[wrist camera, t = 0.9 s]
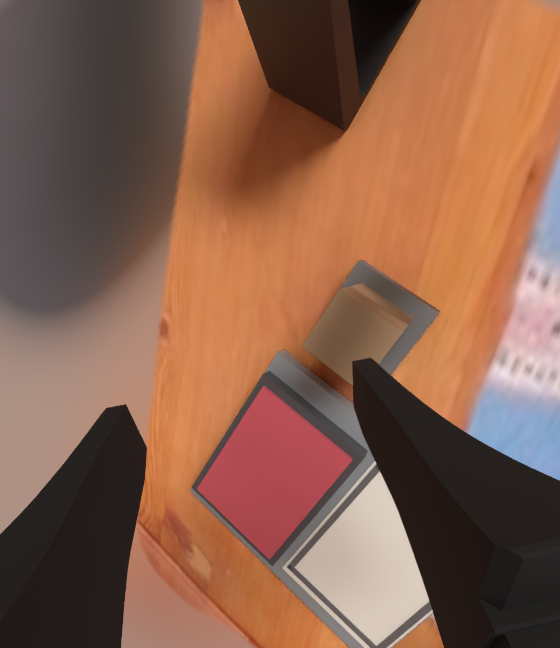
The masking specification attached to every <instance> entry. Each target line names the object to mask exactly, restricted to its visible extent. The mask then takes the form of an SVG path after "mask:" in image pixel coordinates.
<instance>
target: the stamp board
mask: <svg viewBox="0 0 560 648" xmlns="http://www.w3.org/2000/svg"><path fill="white" fill-rule="evenodd" d="M190 492H191V493H192V494H193V495H194V496H195V497H196V498H197V499H198V500H199V501H200V502H201V503H203V504H204V505H205V506H206V507H207V508H208V509H209V510H210V511H211V512H212V513H213V514H214V515H215V516H216V517H217V518H218V519H219V520H220V521H221V522H222V523H223V524H224V525H225V526H226V527H227V528H228V529H229V530H230V531H231V532H232V533H233V534H234V535H235V536H236V537H237V538H238V539H239V540H240V541H241V542H242V543H243V544H244V545H245V546H246V547H247V548H248V549H249V550H250V551H251V552H252V553H253V554H255V555H256V556H257V557H258V558H259V559H260V560H261V561H262V562H263V563H264V564H265V565H266V566H267V567H268V568H269V569H270V570H271V571H272V572H273V573H274V574H275V575H276V576H277V577H278V578H279V579H280V580H281V581H282V582H283V583H284V584H285V585H286V586H287V587H288V588H289V589H290V590H291V591H292V592H293V593H294V594H295V595H296V596H297V597H298V598H299V599H300V600H301V601H302V602H303V603H304V604H305V605H307V606H308V607H309V608H310V609H311V610H312V611H313V612H314V613H315V614H316V615H317V616H318V617H319V618H320V619H321V620H322V621H323V622H324V623H325V624H326V625H327V626H328V627H329V628H330V629H331V630H332V631H333V632H334V633H335V634H336V635H337V636H338V637H339V638H340V639H341V640H342V641H343V642H344V643H345V644H346V645H347V646H348V647H349V648H392V647H393V646H394V645H396V644H397V643H398V642H399V641H401V640H402V639H403V638H404V637H405V636H407V635H408V634H409V633H410V632H411V631H413V630H414V629H415V628H416V627H417V626H419V625H420V624H421V623H422V622H423V621H425V620H426V619H427V618H428V617H429V616H431V615H432V614H433V610H432V607H431V604H430V601H429V598H428V595H427V592H426V589H425V586H424V583H423V580H422V577H421V574H420V571H419V569H418V566H417V563H416V560H415V557H414V554H413V551H412V548H411V545H410V543H409V540H408V537H407V534H406V532H405V529H404V526H403V523H402V521H401V518H400V515H399V512H398V510H397V507H396V505H395V503H394V500H393V498H392V496H391V494H390V492H389V489H388V487H387V485H386V483H385V481H384V479H383V477H382V475H381V473H380V470H379V468H378V466H377V464H376V462H375V460H374V458H373V456H372V453H371V451H370V449H369V447H368V445H367V443H366V441H365V438H364V436H363V434H362V431H361V428H360V425H359V422H358V419H357V416H356V413H355V410H354V404H353V403H351V402H350V401H349V400H347V399H346V398H345V397H344V396H342V395H341V394H340V393H339V392H337V391H336V390H335V389H333V388H332V387H331V386H330V385H328V384H327V383H326V382H325V381H323V380H322V379H321V378H319V377H318V376H317V375H316V374H314V373H313V372H312V371H311V370H309V369H308V368H307V367H305V366H304V365H303V364H302V363H300V362H299V361H298V360H297V359H295V358H294V357H293V356H291V355H290V354H289V353H288V352H286V351H285V350H284V349H283V350H281V351H280V352H278V353H277V354H276V356H275V358H274V359H273V361H272V362H271V364H270V365H269V367H268V369H267V370H266V372H265V373H264V374H263V375H262V377H261V379H260V380H259V382H258V383H257V385H256V386H255V388H254V390H253V391H252V393H251V394H250V396H249V397H248V399H247V401H246V402H245V404H244V405H243V407H242V409H241V410H240V412H239V413H238V415H237V416H236V418H235V420H234V421H233V423H232V424H231V426H230V427H229V429H228V431H227V432H226V434H225V435H224V437H223V439H222V440H221V442H220V443H219V445H218V446H217V448H216V450H215V451H214V453H213V454H212V456H211V457H210V459H209V461H208V462H207V464H206V465H205V467H204V469H203V470H202V472H201V473H200V475H199V476H198V478H197V480H196V481H195V483H194V484H193V486H192V487H191V490H190Z"/></svg>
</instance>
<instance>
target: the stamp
mask: <svg viewBox="0 0 560 648" xmlns="http://www.w3.org/2000/svg"><path fill="white" fill-rule="evenodd" d="M439 312H440V311H439V310H438V309H436V308H435V307H433V306H432V305H430V304H429V303H427V302H426V301H424V300H423V299H421V298H420V297H418V296H417V295H415V294H414V293H412V292H411V291H409V290H408V289H406V288H405V287H403V286H402V285H400V284H399V283H397V282H396V281H394V280H393V279H391V278H390V277H388V276H387V275H385V274H384V273H382V272H381V271H379V270H378V269H376V268H375V267H373V266H372V265H370V264H369V263H367V262H366V261H364V260H360V261H358V262H357V264H356V265H355V267H354V268H353V270H352V271H351V273H350V274H349V276H348V277H347V279H346V280H345V282H344V283H343V285H342V286H341V288H340V289H339V290H338V292H337V293H336V295H335V296H334V298H333V299H332V301H331V303H330V304H329V306H328V307H327V309H326V310H325V312H324V313H323V315H322V316H321V318H320V319H319V321H318V322H317V324H316V325H315V327H314V328H313V330H312V331H311V333H310V334H309V336H308V337H307V339H306V340H305V342H304V344H303V345H302V347H303V348H304V349H305V350H307V351H308V352H309V353H311V354H312V355H313V356H314V357H316V358H317V359H318V360H320V361H321V362H322V363H324V364H325V365H326V366H327V367H329V368H330V369H331V370H333V371H334V372H335V373H337V374H338V375H339V376H340V377H342V378H343V379H344V380H346V381H347V382H348V383H349V384H351V385H352V386H353V372H352V361H356V360H361V359H366V358H372V359H373V360H375V361H376V362H377V363H378V364H379V365H380V366H381V367H382V368H383V369H384V370H385V371H386V372H388V373H389V374H390V375H391V374H392V373H393V371H394V370H395V369H396V367H397V366H398V365H399V364H400V362H401V361H402V360H403V359H404V357H405V356H406V355H407V354H408V352H409V351H410V350H411V349H412V347H413V346H414V345H415V344H416V342H417V341H418V340H419V338H420V337H421V336H422V335H423V333H424V332H425V331H426V330H427V328H428V327H429V326H430V325H431V323H432V322H433V321H434V320H435V318H436V317H437V316H438V315H439Z"/></svg>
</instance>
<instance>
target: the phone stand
mask: <svg viewBox="0 0 560 648" xmlns="http://www.w3.org/2000/svg"><path fill="white" fill-rule="evenodd" d="M238 1H239V4H240V7H241V10H242V13H243V16H244V18H245V21H246V24H247V27H248V30H249V32H250V35H251V38H252V41H253V44H254V47H255V49H256V52H257V55H258V58H259V61H260V64H261V66H262V69H263V72H264V75H265V78H266V80H267V83H268V86H269V87H270V88H271V89H273V90H275V91H277V92H278V93H280V94H282V95H284V96H285V97H287V98H289V99H291V100H292V101H294V102H296V103H298V104H299V105H301V106H303V107H304V108H306V109H308V110H310V111H311V112H313V113H315V114H317V115H318V116H320V117H322V118H324V119H325V120H327V121H329V122H331V123H332V124H334V125H336V126H338V127H339V128H341V129H343V130H344V131H346V130H347V129H348V128H349V126H350V124H351V122H352V121H353V119H354V117H355V115H356V114H357V112H358V110H359V108H360V107H361V105H362V103H363V101H364V100H365V98H366V96H367V94H368V93H369V91H370V89H371V87H372V85H373V84H374V82H375V80H376V78H377V77H378V75H379V73H380V71H381V70H382V68H383V66H384V64H385V63H386V61H387V58H388V55H389V53H390V52H392V50H393V48H394V47H395V45H396V43H397V41H398V40H399V38H400V36H401V34H402V33H403V31H404V29H405V27H406V26H407V24H408V22H409V20H410V19H411V17H412V15H413V13H414V11H415V10H416V8H417V6H418V4H419V3H420V1H421V0H238Z"/></svg>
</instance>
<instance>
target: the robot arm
mask: <svg viewBox="0 0 560 648" xmlns="http://www.w3.org/2000/svg"><path fill="white" fill-rule="evenodd" d="M352 372H353V401H354V410H355V413H356V416H357V419H358V422H359V425H360V428H361V431H362V434H363V436H364V438H365V441H366V443H367V445H368V447H369V449H370V451H371V453H372V456H373V458H374V460H375V462H376V464H377V466H378V468H379V470H380V473H381V475H382V477H383V479H384V481H385V483H386V485H387V487H388V489H389V492H390V494H391V496H392V498H393V500H394V503H395V505H396V507H397V510H398V512H399V515H400V518H401V521H402V523H403V526H404V529H405V532H406V534H407V537H408V540H409V543H410V545H411V548H412V551H413V554H414V557H415V560H416V563H417V566H418V569H419V571H420V574H421V577H422V580H423V583H424V586H425V589H426V592H427V595H428V598H429V601H430V604H431V607H432V610H433V613H434V617H435V620H436V623H437V626H438V629H439V632H440V636H441V639H442V642H443V645H444V648H560V481H559V480H557V479H555V478H552V477H550V476H548V475H546V474H543V473H541V472H539V471H537V470H535V469H532V468H530V467H528V466H526V465H524V464H522V463H520V462H518V461H516V460H514V459H512V458H510V457H508V456H506V455H504V454H503V453H501V452H499V451H497V450H495V449H493V448H491V447H489V446H487V445H486V444H484V443H482V442H481V441H479V440H477V439H475V438H474V437H472V436H470V435H469V434H467V433H466V432H464V431H463V430H461V429H459V428H458V427H456V426H455V425H453V424H452V423H450V422H449V421H448V420H446V419H445V418H443V417H442V416H440V415H439V414H438V413H436V412H435V411H434V410H432V409H431V408H430V407H428V406H427V405H426V404H424V403H423V402H422V401H421V400H419V399H418V398H417V397H416V396H414V395H413V394H412V393H411V392H409V391H408V390H407V389H406V388H405V387H403V386H402V385H401V384H400V383H399V382H398V381H397V380H395V379H394V378H393V377H392V376H391V375H390V374H389V373H388V372H386V371H385V370H384V369H383V368H382V367H381V366H380V365H379V364H378V363H377V362H376V361H375V360H373V359H372V358H366V359H361V360H356V361H352ZM146 452H147V447H146V445H145V443H144V441H143V439H142V437H141V435H140V433H139V431H138V429H137V426H136V424H135V422H134V420H133V418H132V416H131V414H130V412H129V410H128V408H127V406H126V404H125V405H120V406H115V407H110V408H106V409H105V411H104V412H103V413H102V414H101V415H100V417H99V418H98V420H97V421H96V422H95V424H94V425H93V426H92V427H91V429H90V430H89V432H88V433H87V434H86V435H85V437H84V438H83V439H82V441H81V442H80V443H79V445H78V446H77V447H76V449H75V450H74V451H73V452H72V454H71V455H70V456H69V458H68V459H67V460H66V462H65V463H64V464H63V465H62V467H61V468H60V469H59V470H58V471H57V473H56V474H55V475H54V476H53V477H52V479H51V480H50V481H49V482H48V483H47V484H46V486H45V487H44V488H43V489H42V490H41V491H40V493H39V494H38V495H37V496H36V497H35V499H34V500H33V501H32V502H31V503H30V504H29V505H28V506H27V507H26V508H25V509H24V511H23V512H22V513H21V514H20V515H19V516H18V517H17V518H16V519H15V520H14V521H13V522H12V523H11V524H10V525H9V526H8V527H7V528H6V529H5V530H4V531H3V532H2V533H1V534H0V648H121V638H122V625H123V613H124V601H125V591H126V580H127V571H128V564H129V557H130V551H131V546H132V541H133V536H134V531H135V526H136V521H137V516H138V511H139V506H140V501H141V496H142V491H143V486H144V480H145V469H146Z"/></svg>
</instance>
